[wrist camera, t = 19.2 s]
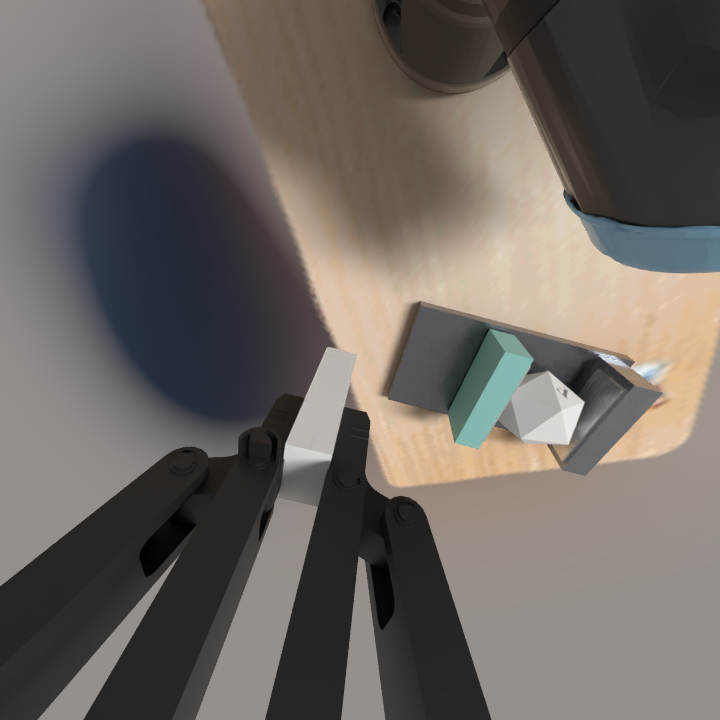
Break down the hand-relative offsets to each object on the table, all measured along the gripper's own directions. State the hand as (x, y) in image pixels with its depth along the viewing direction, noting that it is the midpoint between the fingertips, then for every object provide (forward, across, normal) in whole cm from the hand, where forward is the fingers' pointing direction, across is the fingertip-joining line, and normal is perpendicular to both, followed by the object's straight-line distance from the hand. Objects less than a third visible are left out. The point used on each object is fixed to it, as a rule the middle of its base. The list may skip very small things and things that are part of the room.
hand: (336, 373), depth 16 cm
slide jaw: (+21, +17, -9) cm, 28 cm away
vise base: (+22, +20, -9) cm, 31 cm away
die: (+21, +23, -10) cm, 32 cm away
